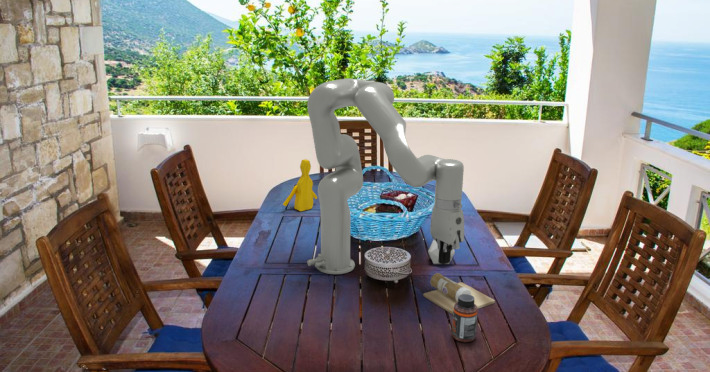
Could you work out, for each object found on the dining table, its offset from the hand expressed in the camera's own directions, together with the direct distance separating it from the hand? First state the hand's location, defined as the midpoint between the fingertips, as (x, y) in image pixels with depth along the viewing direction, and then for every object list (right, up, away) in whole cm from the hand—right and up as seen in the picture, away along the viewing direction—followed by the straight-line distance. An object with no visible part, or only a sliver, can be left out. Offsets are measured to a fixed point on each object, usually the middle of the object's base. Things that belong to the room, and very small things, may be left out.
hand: (444, 262), depth 169 cm
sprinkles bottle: (-2, -6, +4) cm, 8 cm away
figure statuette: (-48, +12, +74) cm, 90 cm away
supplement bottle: (+2, -17, -21) cm, 27 cm away
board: (+4, -11, -2) cm, 11 cm away
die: (+2, -3, +24) cm, 24 cm away
